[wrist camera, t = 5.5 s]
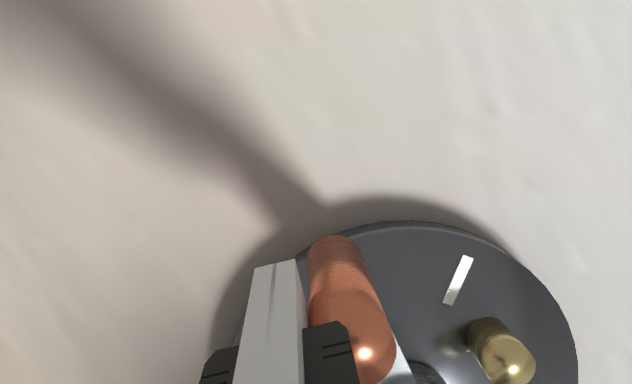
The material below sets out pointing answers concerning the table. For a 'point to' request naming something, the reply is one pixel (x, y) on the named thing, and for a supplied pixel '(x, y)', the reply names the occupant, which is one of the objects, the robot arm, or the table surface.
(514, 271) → the crank base
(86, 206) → the table surface
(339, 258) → the crank
